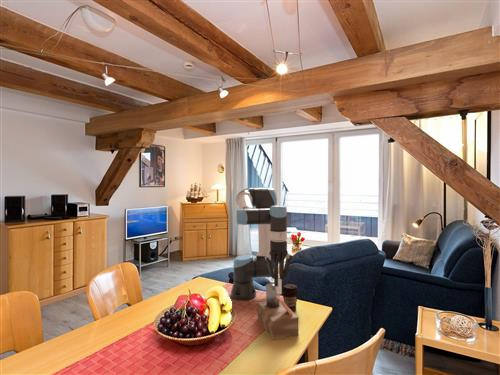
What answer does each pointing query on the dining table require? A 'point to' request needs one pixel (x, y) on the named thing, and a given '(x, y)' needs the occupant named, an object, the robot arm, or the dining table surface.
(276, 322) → the hitch block
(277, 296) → the keeper
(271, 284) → the pin
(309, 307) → the dining table surface
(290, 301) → the coffee cup
